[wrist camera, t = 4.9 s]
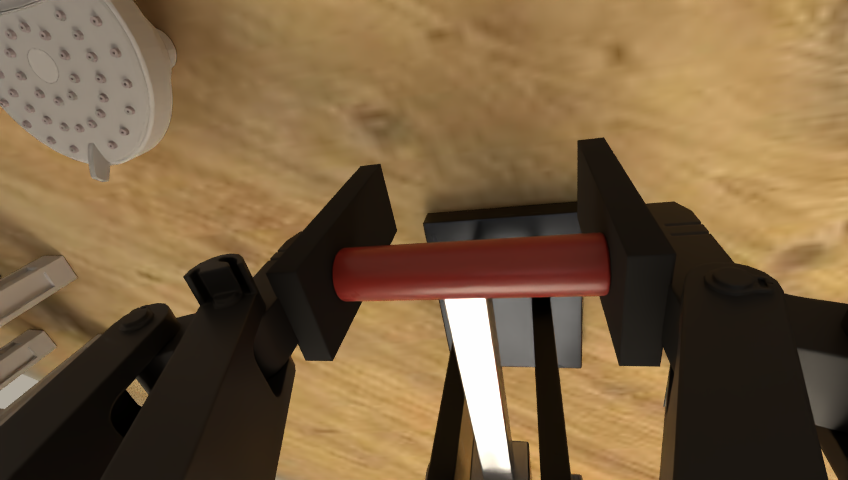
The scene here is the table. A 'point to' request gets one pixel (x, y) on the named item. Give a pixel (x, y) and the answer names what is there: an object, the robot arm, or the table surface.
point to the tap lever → (479, 311)
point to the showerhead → (86, 78)
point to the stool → (13, 359)
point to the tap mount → (512, 340)
